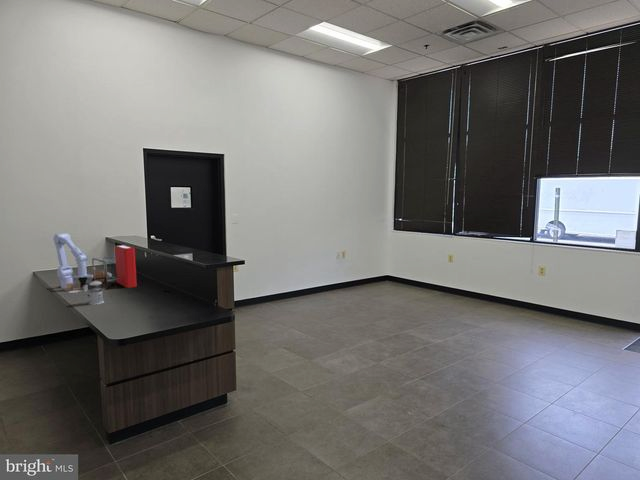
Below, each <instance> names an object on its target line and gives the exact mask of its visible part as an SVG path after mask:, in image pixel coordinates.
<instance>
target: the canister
mask: <svg viewBox="0 0 640 480" xmlns="http://www.w3.org/2000/svg"><path fill="white" fill-rule="evenodd" d="M66 287H67V288H66V289H67V290H66V291H74V290H73V288H74V282H73V283H68V284H66Z"/></svg>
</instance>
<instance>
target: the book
mask: <svg viewBox="0 0 640 480" xmlns="http://www.w3.org/2000/svg"><path fill="white" fill-rule="evenodd" d="M114 255H115V260H116V261H115V268H116V278H117V280H116V283H117V284H119V285H121V286H123V287H124V288H127V289H129V288H130V289H131V288H136V287H138V283H137V267H136V266H137V265H136V249H135V247H134V246H132V245H129V244H125V243H124V244H122V245H115V244H114Z"/></svg>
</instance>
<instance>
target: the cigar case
mask: <svg viewBox="0 0 640 480" xmlns="http://www.w3.org/2000/svg"><path fill="white" fill-rule="evenodd" d="M101 270H102V271H101ZM103 271H104V274H103ZM101 272H102V274H101ZM91 275H93V278H91V280H92V281H91V282H93V281H99V282H101V283H102V284H107V282H108V281H107V280H106V270H105V269H104V268H103V269H99V270H98V269H97V270H95V274H94V272H93V269H92V270H91Z"/></svg>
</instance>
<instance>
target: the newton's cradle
mask: <svg viewBox="0 0 640 480" xmlns="http://www.w3.org/2000/svg"><path fill="white" fill-rule="evenodd" d="M95 261H97V262H99V265H101V263H102V267H101V269H100V271H102V270H103V274H104V269H105V272H106V280H107V282H110V281H112V280H114V281H117V277H113V274H112V273H111V272H110V271H108V268H110V267H111V265H112V263H111V262H116V258H115V259H114V258H110V257H106V256H102V258H99V257H96V258H94V257H92V259H91V263H92V270H93V272H94V270H95V269H93V268H95V263H94V262H95ZM108 263H109V264H110V266H109V264H108ZM107 265H108V266H107ZM101 274H102V272H101ZM108 278H109V279H108Z"/></svg>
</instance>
